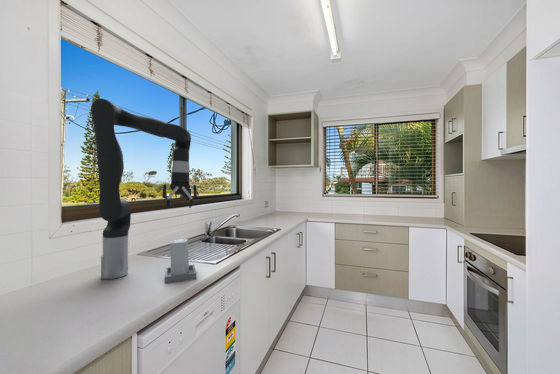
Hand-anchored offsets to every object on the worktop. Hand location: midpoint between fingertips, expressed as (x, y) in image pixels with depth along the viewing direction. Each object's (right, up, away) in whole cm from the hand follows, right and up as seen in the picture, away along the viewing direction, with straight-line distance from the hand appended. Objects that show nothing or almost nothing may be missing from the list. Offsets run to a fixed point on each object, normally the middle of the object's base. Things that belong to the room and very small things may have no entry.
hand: (179, 207), depth 109 cm
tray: (+2, -29, -4) cm, 30 cm away
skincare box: (+2, -29, -4) cm, 29 cm away
